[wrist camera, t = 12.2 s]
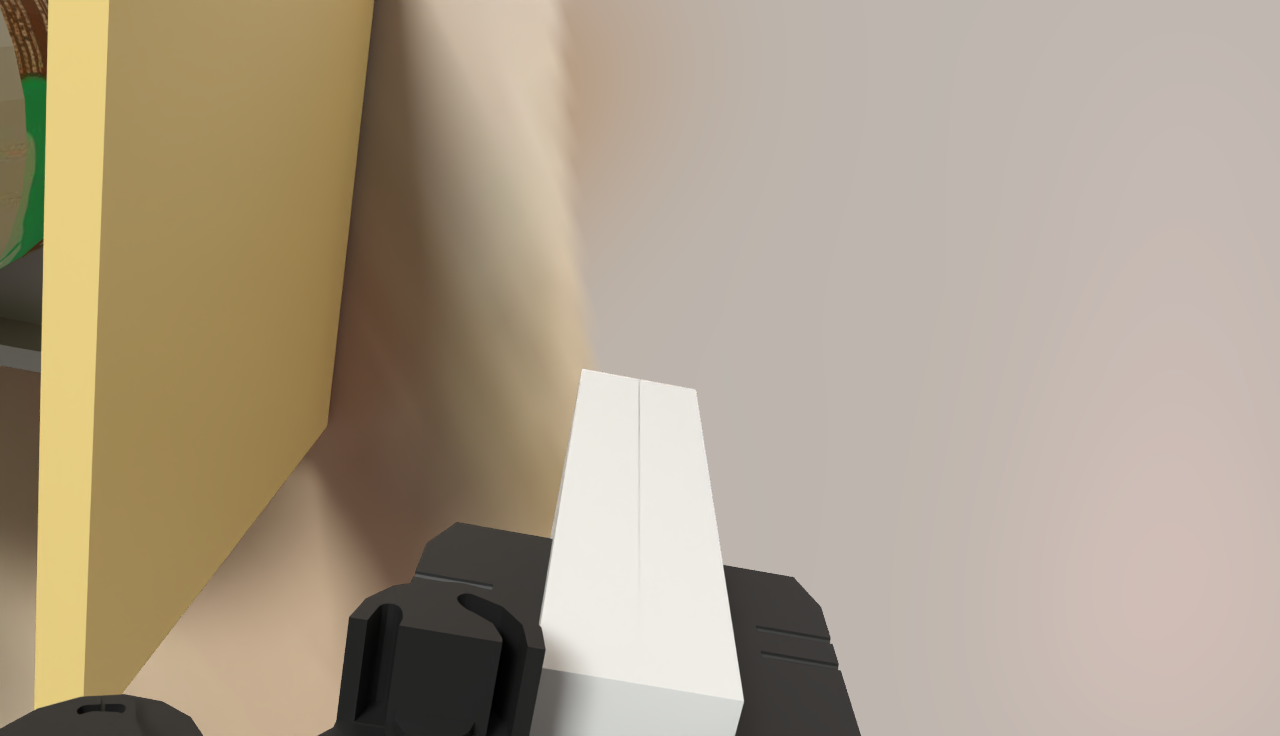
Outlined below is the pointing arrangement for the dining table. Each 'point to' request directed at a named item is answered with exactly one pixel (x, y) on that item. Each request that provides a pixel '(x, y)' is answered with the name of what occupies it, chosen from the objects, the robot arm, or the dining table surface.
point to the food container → (22, 126)
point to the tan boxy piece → (177, 300)
